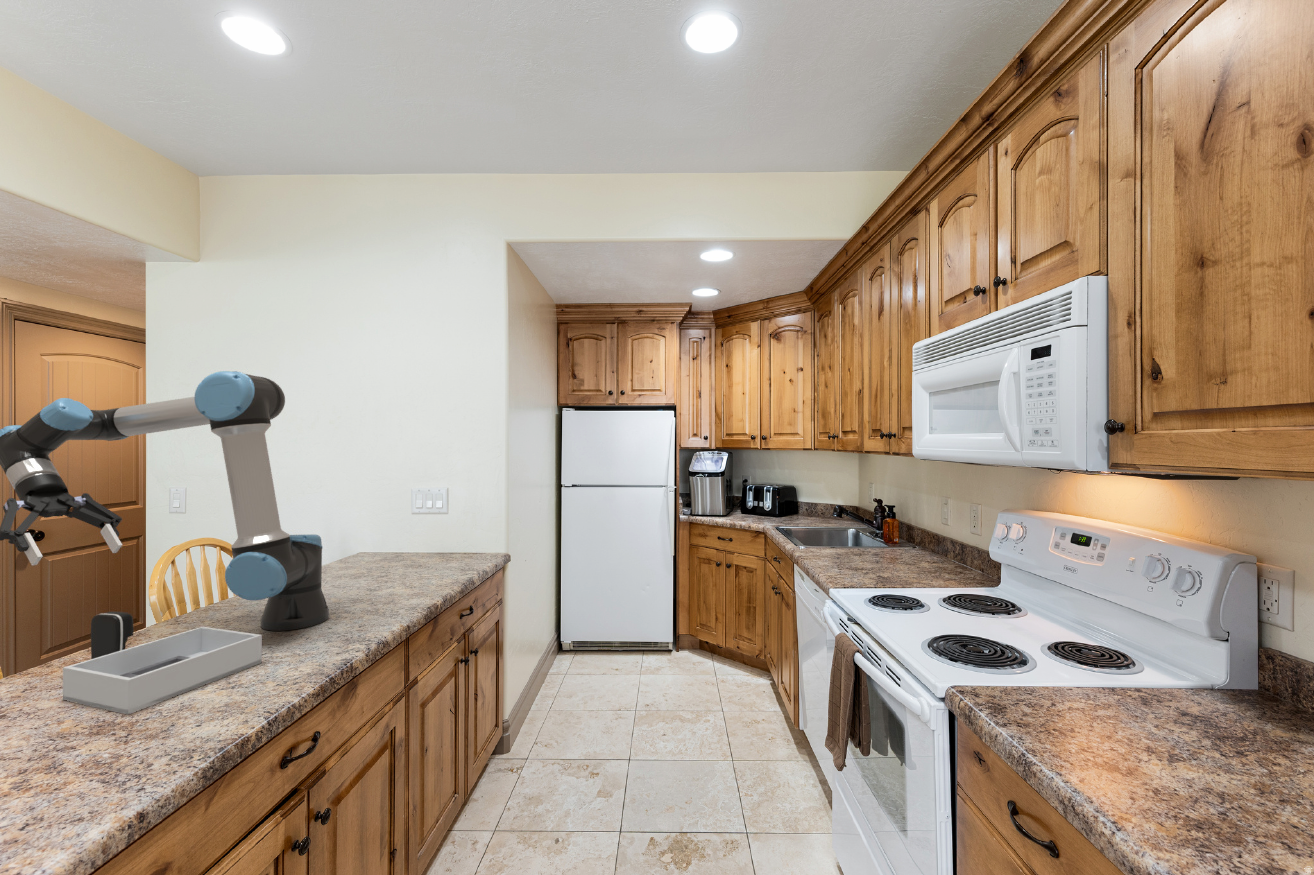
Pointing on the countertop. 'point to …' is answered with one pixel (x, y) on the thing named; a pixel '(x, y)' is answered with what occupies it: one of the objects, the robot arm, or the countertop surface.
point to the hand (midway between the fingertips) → (79, 554)
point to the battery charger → (110, 633)
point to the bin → (160, 669)
